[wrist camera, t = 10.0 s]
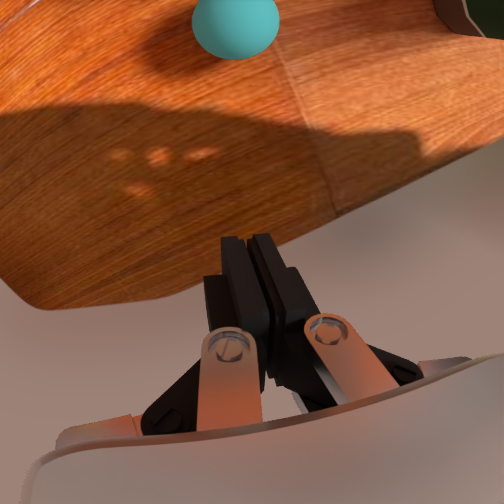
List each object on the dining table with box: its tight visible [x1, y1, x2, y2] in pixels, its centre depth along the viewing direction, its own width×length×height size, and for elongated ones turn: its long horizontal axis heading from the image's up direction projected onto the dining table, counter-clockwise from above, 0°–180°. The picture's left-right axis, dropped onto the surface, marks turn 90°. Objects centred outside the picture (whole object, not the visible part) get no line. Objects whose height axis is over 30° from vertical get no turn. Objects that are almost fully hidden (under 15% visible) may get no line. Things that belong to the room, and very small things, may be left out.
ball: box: [192, 0, 280, 60], centre depth 18 cm, size 6×6×6 cm
